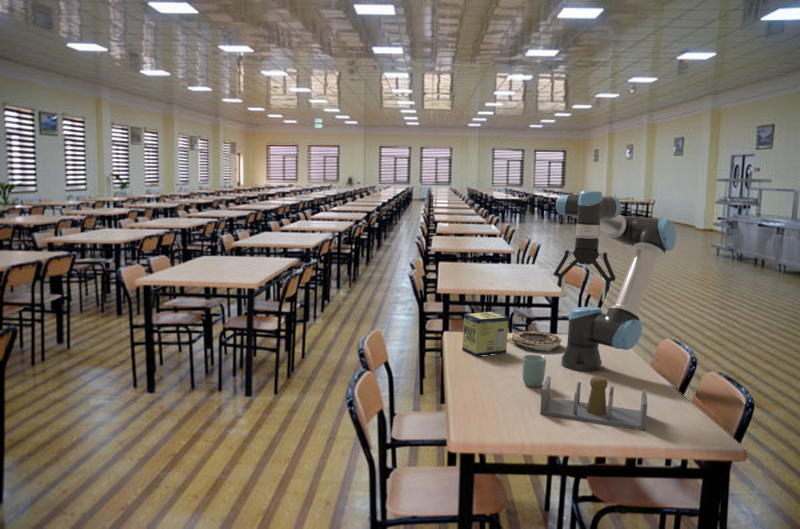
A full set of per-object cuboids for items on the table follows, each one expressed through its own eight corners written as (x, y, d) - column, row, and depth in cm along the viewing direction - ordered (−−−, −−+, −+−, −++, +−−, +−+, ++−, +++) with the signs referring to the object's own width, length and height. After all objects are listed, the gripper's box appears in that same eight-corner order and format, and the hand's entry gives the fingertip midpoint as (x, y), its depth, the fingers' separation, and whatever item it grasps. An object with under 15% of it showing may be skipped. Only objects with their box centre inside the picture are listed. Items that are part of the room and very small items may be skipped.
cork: (590, 415, 197) (593, 380, 196) (583, 408, 203) (585, 374, 202) (609, 415, 198) (612, 380, 197) (601, 408, 204) (604, 374, 202)
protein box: (461, 350, 268) (463, 313, 266) (492, 347, 275) (494, 311, 273) (475, 357, 259) (477, 319, 257) (507, 353, 266) (509, 316, 264)
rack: (540, 414, 200) (541, 389, 198) (545, 399, 213) (547, 376, 212) (644, 430, 190) (647, 404, 189) (644, 414, 203) (646, 389, 202)
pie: (568, 341, 290) (569, 331, 289) (570, 359, 263) (571, 347, 263) (505, 336, 296) (505, 325, 295) (500, 352, 270) (501, 341, 269)
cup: (544, 390, 222) (546, 362, 221) (521, 387, 224) (523, 359, 222) (543, 383, 230) (545, 355, 228) (521, 380, 231) (523, 353, 230)
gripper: (548, 235, 219) (544, 296, 222) (626, 240, 211) (620, 304, 214) (550, 233, 226) (546, 293, 229) (626, 238, 218) (620, 300, 221)
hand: (582, 298), depth 221 cm, fingers open, 13 cm apart
